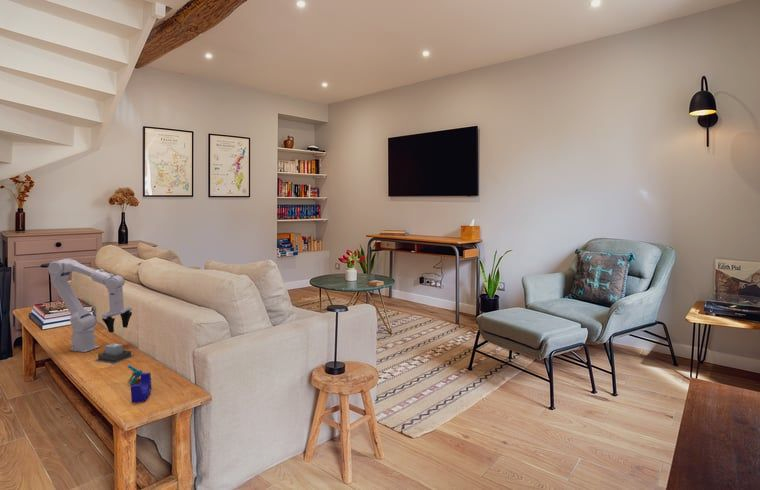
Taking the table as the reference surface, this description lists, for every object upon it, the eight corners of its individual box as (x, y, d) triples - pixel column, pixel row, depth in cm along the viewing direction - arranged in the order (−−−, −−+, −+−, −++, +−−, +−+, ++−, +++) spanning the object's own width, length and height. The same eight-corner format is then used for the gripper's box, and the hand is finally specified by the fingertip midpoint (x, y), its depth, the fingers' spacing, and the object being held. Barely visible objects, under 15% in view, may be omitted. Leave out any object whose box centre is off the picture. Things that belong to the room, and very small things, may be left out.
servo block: (105, 358, 198) (104, 345, 197) (113, 354, 202) (112, 342, 201) (115, 359, 196) (114, 346, 196) (123, 356, 200) (122, 343, 199)
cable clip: (145, 401, 158) (144, 385, 157) (131, 402, 157) (130, 386, 156) (155, 387, 170) (154, 372, 169) (142, 388, 169) (141, 373, 168)
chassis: (95, 360, 196) (95, 355, 196) (115, 353, 206) (114, 347, 205) (114, 363, 193) (114, 358, 192) (133, 355, 202) (133, 350, 202)
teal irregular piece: (155, 379, 173) (133, 365, 168) (144, 393, 170) (121, 379, 165) (148, 374, 181) (126, 361, 176) (137, 387, 178) (116, 374, 174)
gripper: (109, 305, 200) (111, 335, 202) (135, 298, 214) (137, 326, 216) (97, 304, 203) (99, 333, 204) (124, 297, 216) (126, 324, 218)
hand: (118, 329), depth 210 cm, fingers open, 7 cm apart
